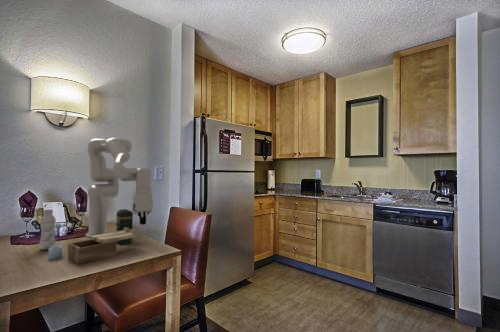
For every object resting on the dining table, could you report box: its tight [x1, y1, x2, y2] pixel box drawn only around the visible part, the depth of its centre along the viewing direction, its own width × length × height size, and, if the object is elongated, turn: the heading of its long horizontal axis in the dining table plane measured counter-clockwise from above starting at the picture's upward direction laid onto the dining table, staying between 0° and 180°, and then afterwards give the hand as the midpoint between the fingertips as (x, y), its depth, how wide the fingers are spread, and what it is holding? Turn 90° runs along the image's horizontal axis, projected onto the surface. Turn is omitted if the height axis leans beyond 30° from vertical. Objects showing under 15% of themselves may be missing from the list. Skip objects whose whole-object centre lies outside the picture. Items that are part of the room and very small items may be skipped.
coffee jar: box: [115, 208, 134, 245], centre depth 149 cm, size 10×8×19 cm
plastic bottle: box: [38, 209, 57, 251], centre depth 134 cm, size 6×7×20 cm
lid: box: [90, 227, 138, 244], centre depth 132 cm, size 13×17×3 cm
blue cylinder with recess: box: [48, 245, 64, 261], centre depth 122 cm, size 5×5×5 cm
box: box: [67, 238, 117, 266], centre depth 123 cm, size 12×16×7 cm
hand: (142, 224), depth 143 cm, fingers closed
